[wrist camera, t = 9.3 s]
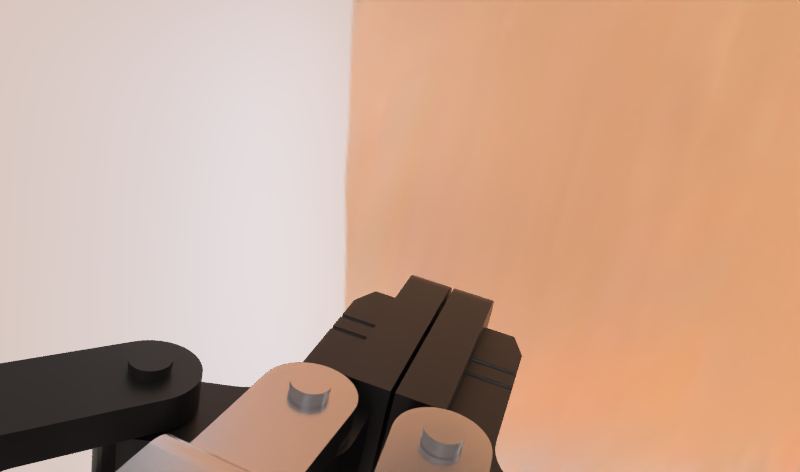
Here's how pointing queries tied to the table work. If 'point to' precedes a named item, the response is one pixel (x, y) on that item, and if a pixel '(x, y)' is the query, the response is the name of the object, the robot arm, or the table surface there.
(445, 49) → the table surface
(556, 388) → the table surface
